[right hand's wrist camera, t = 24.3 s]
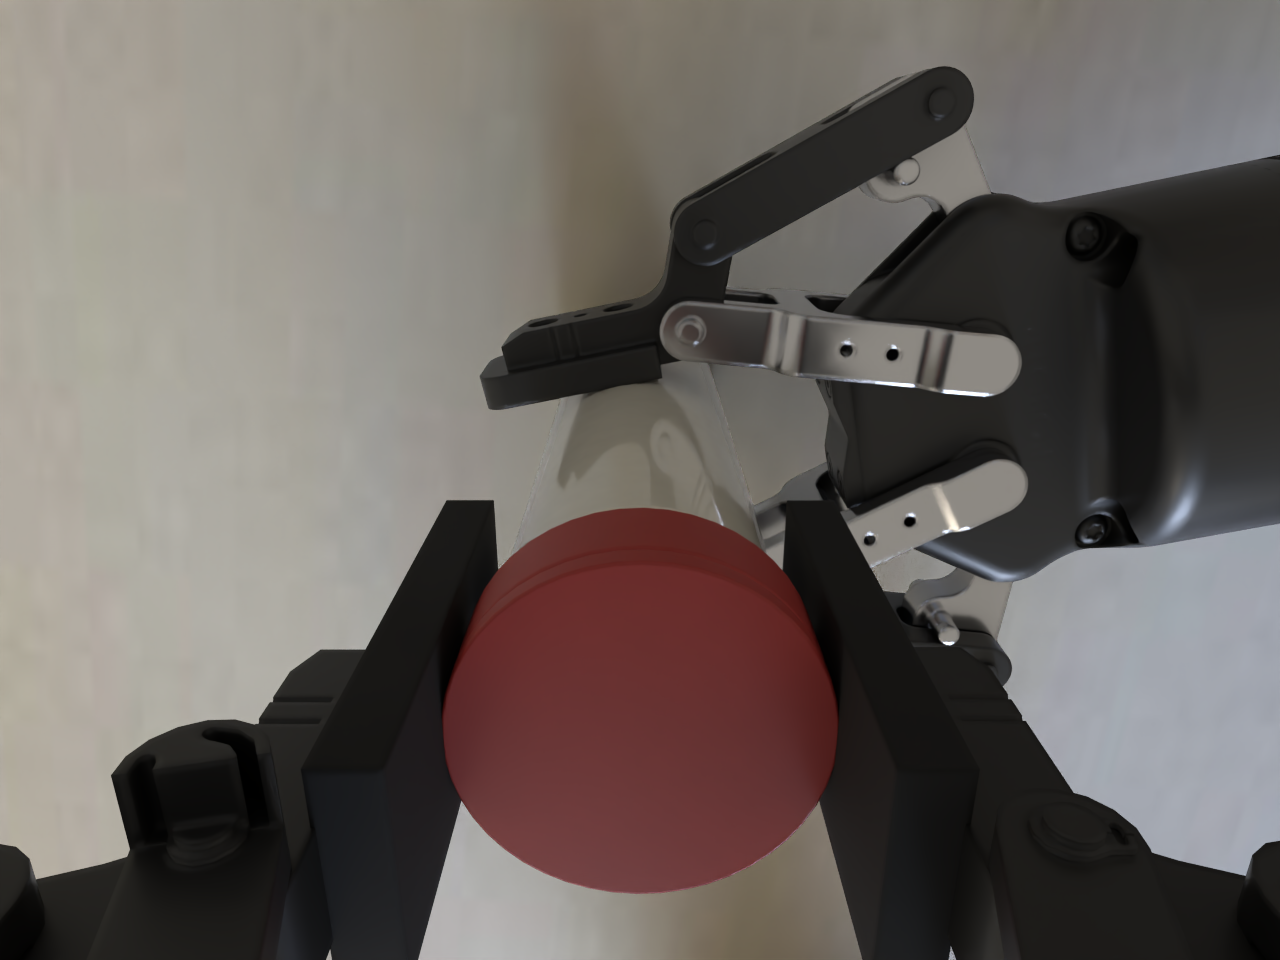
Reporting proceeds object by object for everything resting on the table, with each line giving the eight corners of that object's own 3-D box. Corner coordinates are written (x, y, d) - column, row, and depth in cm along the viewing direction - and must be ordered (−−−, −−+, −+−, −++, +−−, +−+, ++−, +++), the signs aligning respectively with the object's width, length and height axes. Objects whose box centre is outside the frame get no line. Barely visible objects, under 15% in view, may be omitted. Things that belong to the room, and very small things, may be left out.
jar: (561, 321, 25) (454, 559, 11) (712, 314, 25) (808, 544, 10) (572, 463, 26) (493, 839, 12) (714, 456, 26) (803, 826, 12)
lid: (574, 438, 11) (564, 485, 9) (884, 614, 12) (922, 684, 10) (406, 715, 12) (373, 796, 11) (694, 854, 13) (700, 946, 12)
